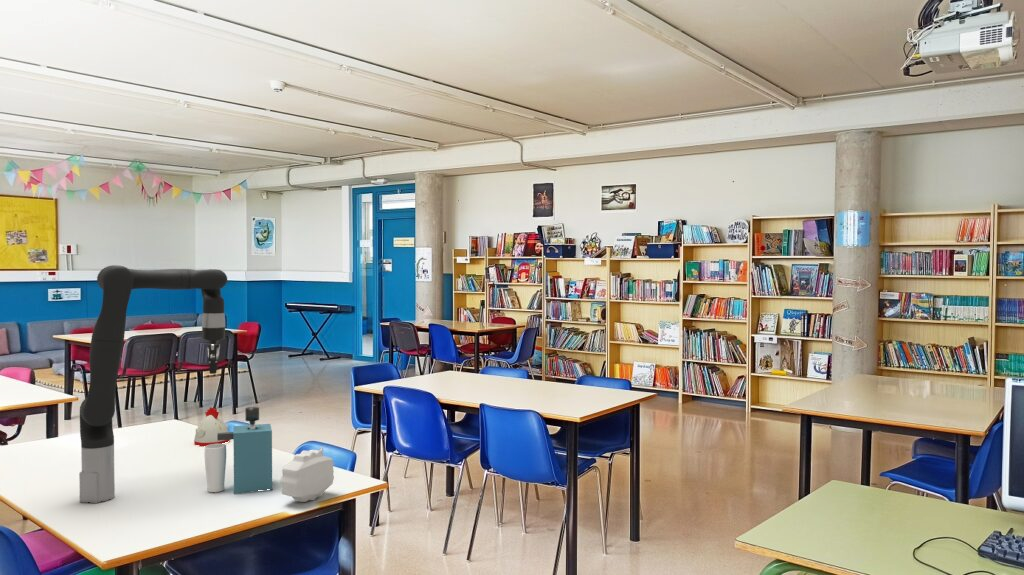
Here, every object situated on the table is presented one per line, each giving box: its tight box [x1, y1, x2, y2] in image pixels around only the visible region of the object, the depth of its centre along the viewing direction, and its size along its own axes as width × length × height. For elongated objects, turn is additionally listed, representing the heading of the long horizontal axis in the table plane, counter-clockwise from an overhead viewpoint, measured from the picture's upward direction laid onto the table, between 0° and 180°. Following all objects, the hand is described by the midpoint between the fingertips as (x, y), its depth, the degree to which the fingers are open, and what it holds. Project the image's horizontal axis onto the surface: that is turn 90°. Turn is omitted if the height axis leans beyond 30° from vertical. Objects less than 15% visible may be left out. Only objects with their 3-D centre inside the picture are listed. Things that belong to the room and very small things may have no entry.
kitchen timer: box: [193, 406, 230, 447], centre depth 318 cm, size 14×14×15 cm
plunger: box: [244, 406, 260, 429], centre depth 253 cm, size 4×4×15 cm
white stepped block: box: [279, 445, 335, 503], centre depth 240 cm, size 11×18×16 cm, turn 152°
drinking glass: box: [204, 444, 227, 493], centre depth 249 cm, size 7×7×15 cm
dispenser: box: [217, 423, 273, 494], centre depth 252 cm, size 17×12×20 cm
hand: (213, 372), depth 263 cm, fingers open, 8 cm apart
